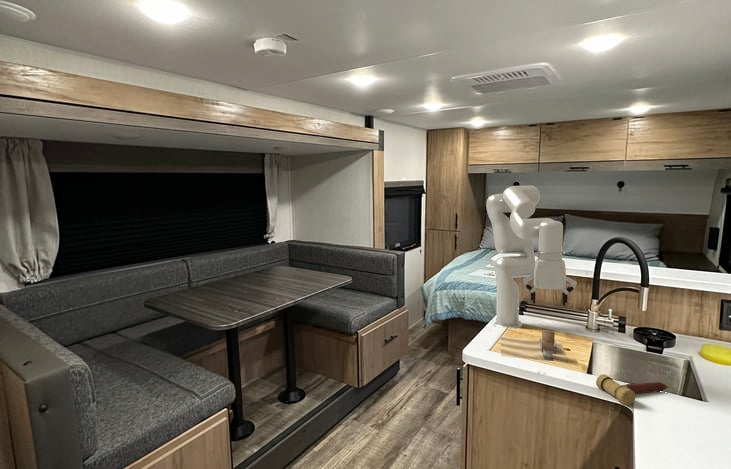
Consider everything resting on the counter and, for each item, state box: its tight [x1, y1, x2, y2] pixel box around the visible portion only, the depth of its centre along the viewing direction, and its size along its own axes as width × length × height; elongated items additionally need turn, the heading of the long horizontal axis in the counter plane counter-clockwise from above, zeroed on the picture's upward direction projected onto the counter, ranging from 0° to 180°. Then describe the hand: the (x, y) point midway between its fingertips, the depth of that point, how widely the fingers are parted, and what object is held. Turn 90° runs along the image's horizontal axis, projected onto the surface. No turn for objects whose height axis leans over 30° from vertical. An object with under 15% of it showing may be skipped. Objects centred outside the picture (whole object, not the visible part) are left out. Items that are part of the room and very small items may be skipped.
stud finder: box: [539, 337, 557, 354], centre depth 144 cm, size 7×5×3 cm
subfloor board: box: [500, 336, 569, 364], centre depth 146 cm, size 19×22×2 cm
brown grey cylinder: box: [541, 329, 556, 358], centre depth 138 cm, size 4×4×9 cm
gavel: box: [595, 374, 671, 406], centre depth 115 cm, size 21×5×10 cm
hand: (548, 303), depth 136 cm, fingers open, 9 cm apart
